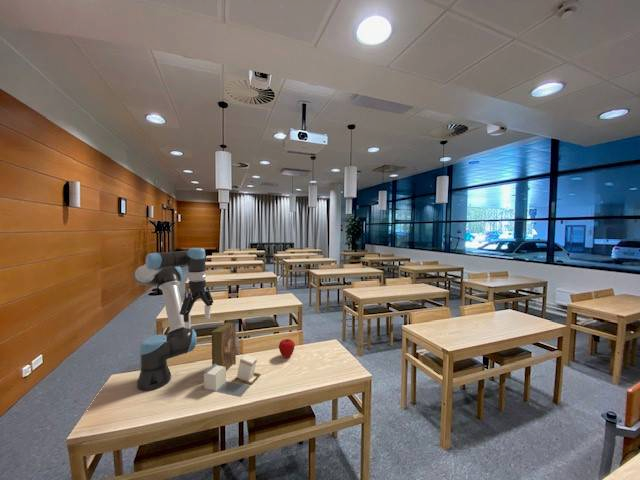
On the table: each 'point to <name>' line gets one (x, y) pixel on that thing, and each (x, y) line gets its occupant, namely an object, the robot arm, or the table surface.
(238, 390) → the board
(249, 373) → the stub
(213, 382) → the pad
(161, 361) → the robot arm
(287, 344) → the apple
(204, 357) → the table surface
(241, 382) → the tray
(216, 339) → the book
